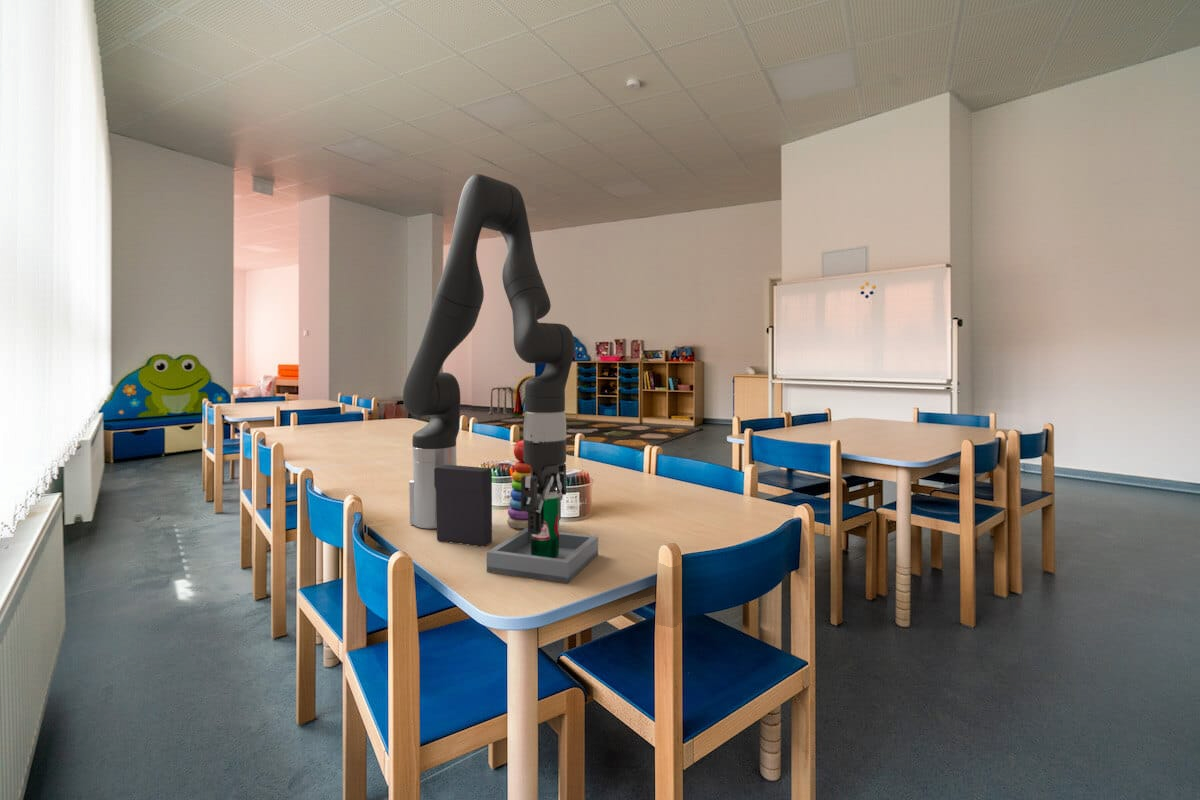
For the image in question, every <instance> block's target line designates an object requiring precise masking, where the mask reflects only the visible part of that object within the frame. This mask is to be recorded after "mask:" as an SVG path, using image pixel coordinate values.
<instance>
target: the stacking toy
mask: <svg viewBox="0 0 1200 800" xmlns="http://www.w3.org/2000/svg"><path fill="white" fill-rule="evenodd" d="M513 455H514V458H515V459H516V460H517V461H516V462H515V463H514V465H513V468H514V472H513V473H512V475H511V476H512V477H511V478H512V479H513V480H512V482H511V488H512V490H511V491H510V497H511V498H510V500H509V506H510V507H509V508H508V510H507V515H508V517H507V519H506V521H507V524H508V526H509V527H511V528H514V529H520V530H524V529H525V528H528V512H526V511H521V478H522V476H523V475H524V476H530V474H531V466H530V465H527V464H525V463H524V439H521V440H519V441H518V442H516V444H515V446H514V448H513ZM527 501H528V497H527V498H526V504H527Z"/></svg>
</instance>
